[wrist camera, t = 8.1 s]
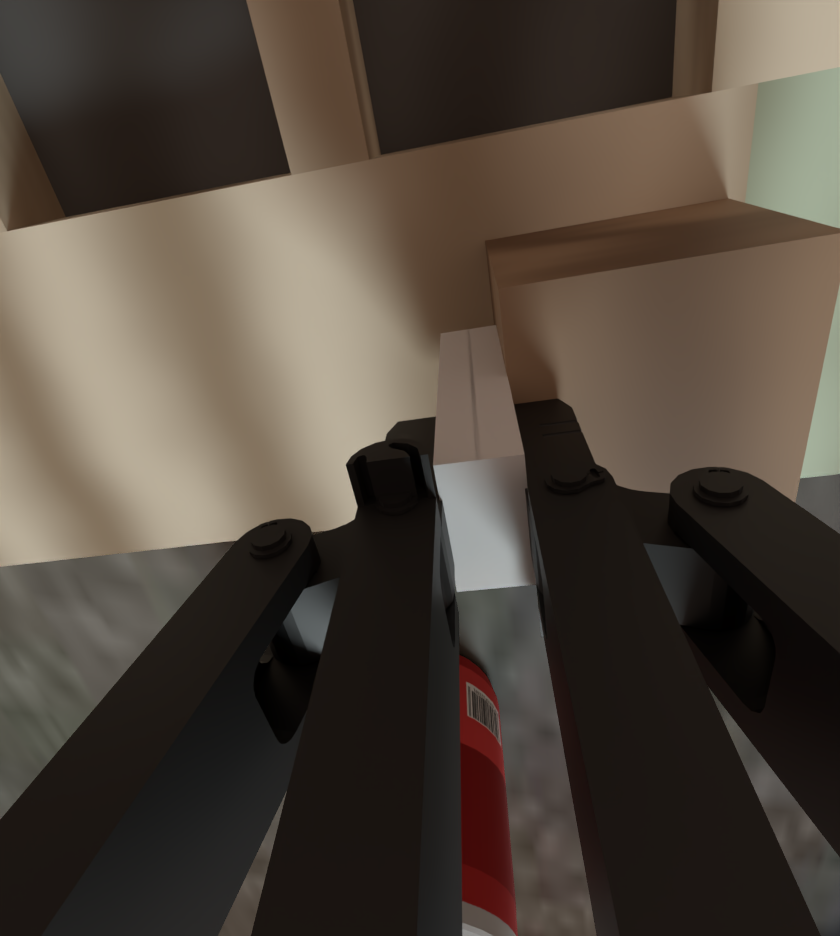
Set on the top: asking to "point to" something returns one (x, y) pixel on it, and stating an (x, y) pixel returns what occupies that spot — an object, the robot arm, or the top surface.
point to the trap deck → (335, 223)
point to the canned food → (483, 812)
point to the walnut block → (674, 335)
